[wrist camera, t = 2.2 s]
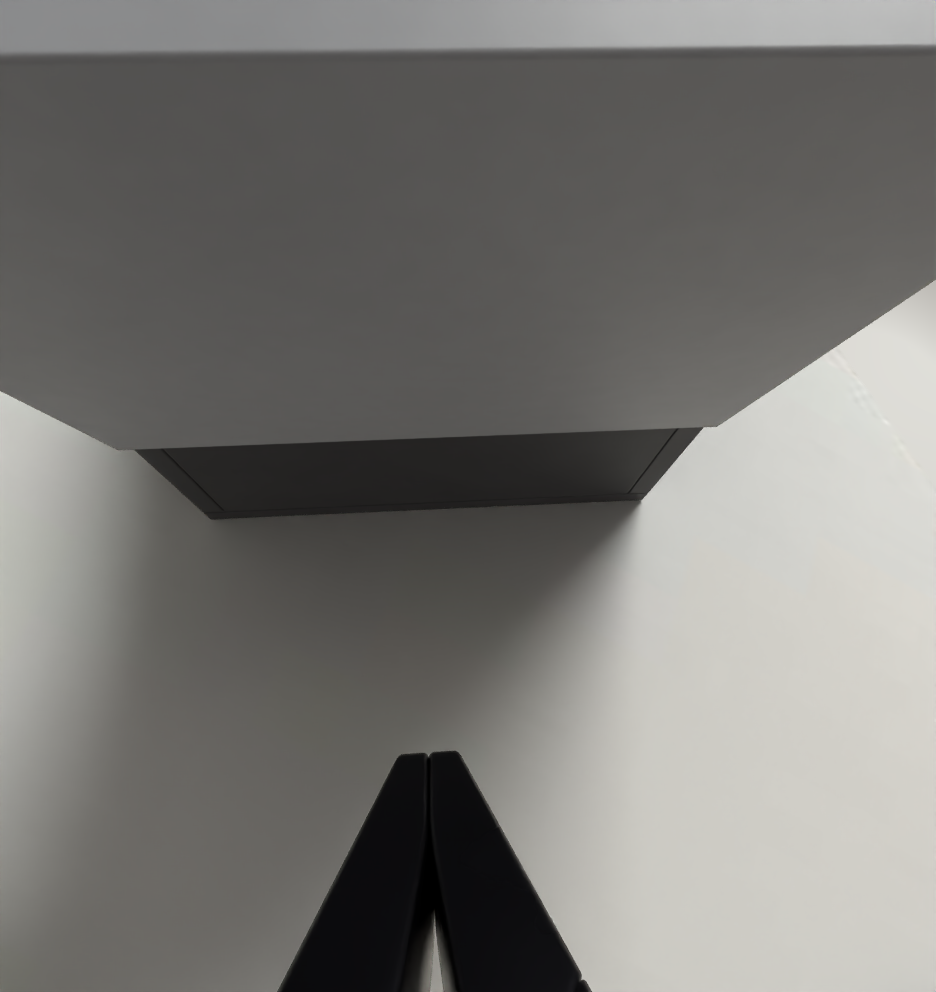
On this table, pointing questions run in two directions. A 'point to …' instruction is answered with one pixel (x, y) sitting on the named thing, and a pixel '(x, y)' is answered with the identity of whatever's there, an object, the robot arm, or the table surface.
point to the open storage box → (420, 472)
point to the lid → (449, 210)
